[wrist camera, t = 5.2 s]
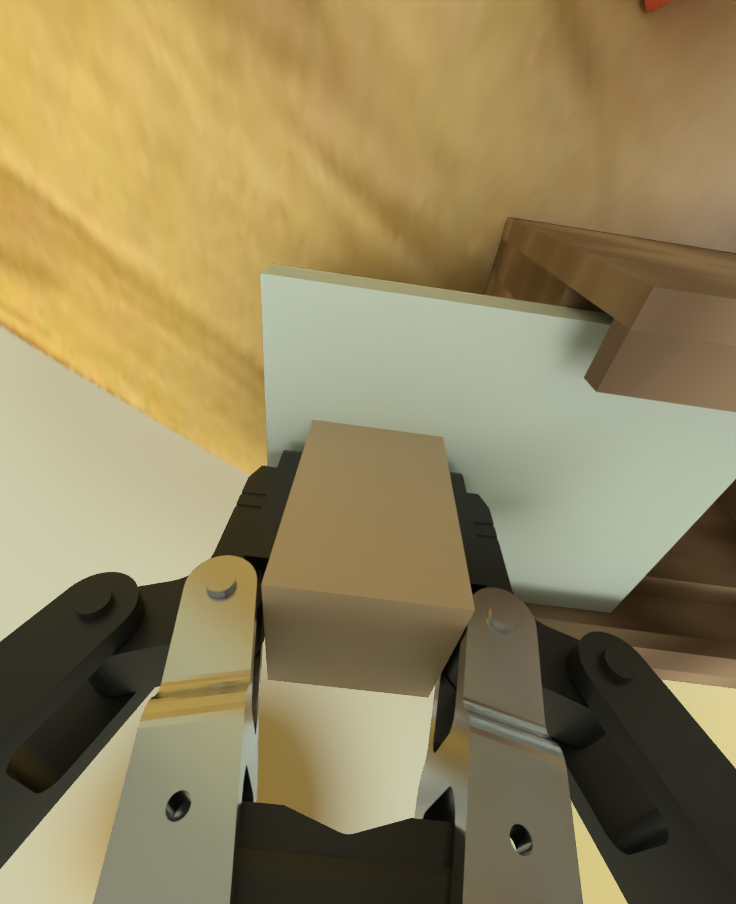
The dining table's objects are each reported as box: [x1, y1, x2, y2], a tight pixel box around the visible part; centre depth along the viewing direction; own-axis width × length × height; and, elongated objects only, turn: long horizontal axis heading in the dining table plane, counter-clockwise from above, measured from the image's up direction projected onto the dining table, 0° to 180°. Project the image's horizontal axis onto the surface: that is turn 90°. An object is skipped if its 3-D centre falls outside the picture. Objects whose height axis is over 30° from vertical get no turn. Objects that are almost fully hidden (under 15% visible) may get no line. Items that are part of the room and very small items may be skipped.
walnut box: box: [485, 217, 736, 688], centre depth 14 cm, size 15×12×10 cm
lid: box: [260, 264, 736, 697], centre depth 10 cm, size 13×10×6 cm
